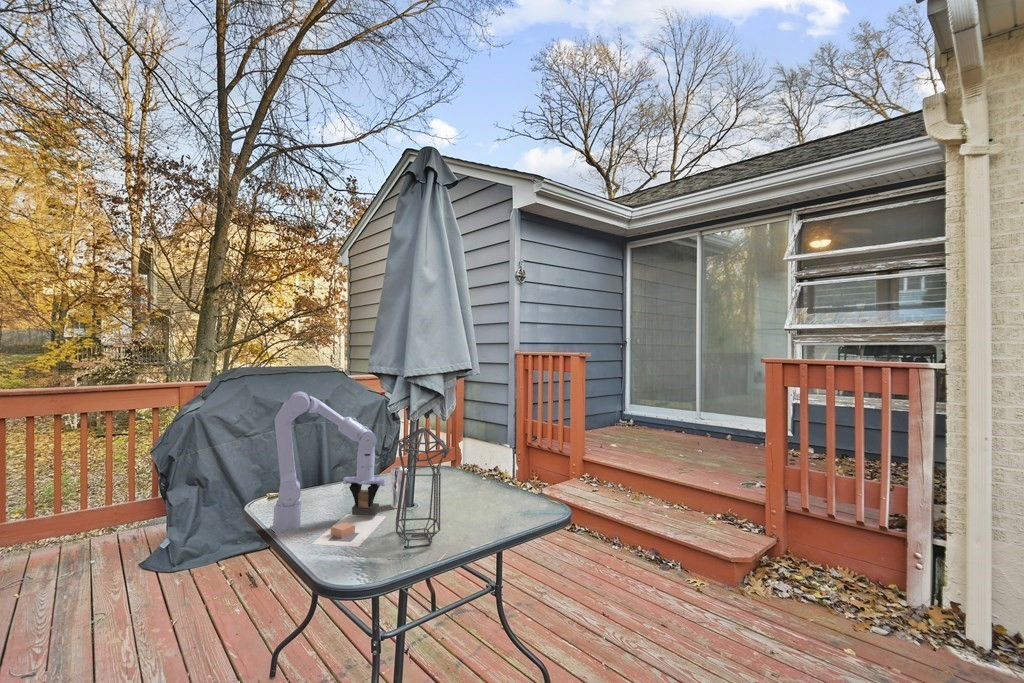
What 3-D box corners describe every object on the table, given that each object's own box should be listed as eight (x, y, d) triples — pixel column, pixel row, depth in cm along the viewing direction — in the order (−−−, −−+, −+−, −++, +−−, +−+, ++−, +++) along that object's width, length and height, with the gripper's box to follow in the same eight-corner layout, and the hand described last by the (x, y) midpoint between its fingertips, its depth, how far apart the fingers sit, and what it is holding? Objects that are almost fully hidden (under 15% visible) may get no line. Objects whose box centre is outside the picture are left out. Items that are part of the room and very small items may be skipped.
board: (346, 517, 160) (346, 514, 160) (386, 519, 159) (386, 516, 159) (311, 548, 134) (311, 544, 134) (358, 550, 133) (358, 546, 133)
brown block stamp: (356, 508, 160) (356, 488, 159) (379, 510, 160) (378, 489, 159) (352, 514, 157) (351, 494, 155) (374, 516, 156) (374, 495, 155)
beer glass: (407, 511, 168) (409, 470, 168) (387, 512, 167) (389, 470, 167) (408, 505, 175) (410, 465, 175) (389, 505, 173) (391, 465, 174)
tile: (344, 529, 146) (344, 521, 146) (354, 533, 143) (355, 525, 143) (330, 534, 141) (331, 526, 141) (341, 538, 139) (341, 530, 139)
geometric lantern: (390, 533, 147) (397, 424, 149) (439, 531, 151) (445, 424, 153) (391, 553, 132) (399, 431, 134) (446, 550, 136) (453, 432, 138)
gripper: (339, 467, 154) (338, 508, 153) (381, 469, 152) (380, 511, 152) (349, 462, 161) (347, 501, 160) (389, 464, 159) (387, 504, 159)
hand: (363, 505), depth 156 cm, fingers closed on brown block stamp, 4 cm apart
